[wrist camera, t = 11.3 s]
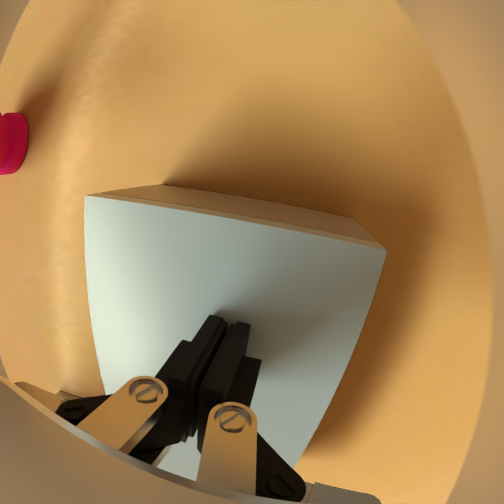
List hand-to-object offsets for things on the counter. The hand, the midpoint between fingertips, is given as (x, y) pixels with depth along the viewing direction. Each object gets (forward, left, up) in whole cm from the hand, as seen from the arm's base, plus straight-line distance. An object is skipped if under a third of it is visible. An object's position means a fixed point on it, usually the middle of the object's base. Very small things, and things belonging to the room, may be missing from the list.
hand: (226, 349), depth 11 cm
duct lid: (+7, -1, -1) cm, 7 cm away
